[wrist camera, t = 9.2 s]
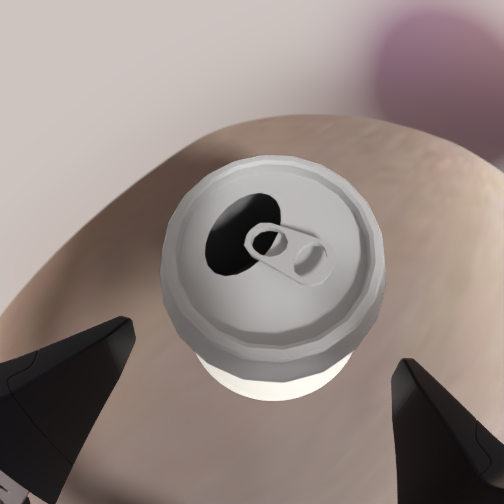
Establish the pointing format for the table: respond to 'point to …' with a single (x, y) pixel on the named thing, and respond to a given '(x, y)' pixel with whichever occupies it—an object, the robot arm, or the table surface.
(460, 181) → the table surface
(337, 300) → the can
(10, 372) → the robot arm
